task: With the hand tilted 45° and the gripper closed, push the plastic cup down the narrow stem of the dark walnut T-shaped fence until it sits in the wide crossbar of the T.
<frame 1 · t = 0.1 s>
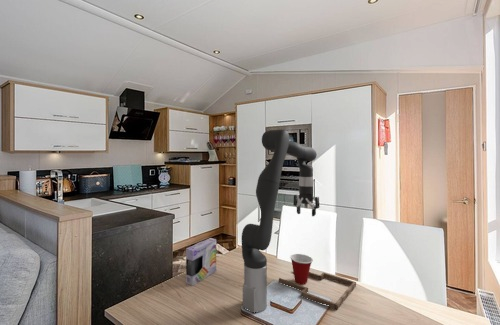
hand: (306, 214, 140), 29 cm above the table, tool pointing down, fingers open, 8 cm apart
cake pan box: (201, 278, 130), on the table
plastic cup: (301, 282, 126), on the table
T fence: (314, 286, 121), on the table
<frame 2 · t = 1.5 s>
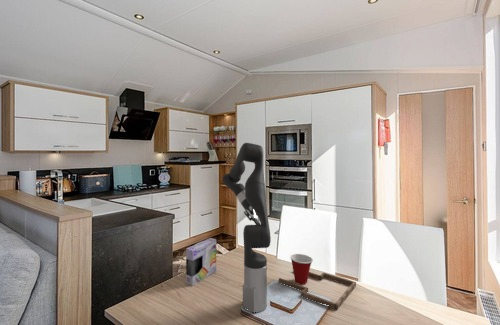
hand: (263, 224, 140), 24 cm above the table, tool tilted 45°, fingers open, 6 cm apart
nothing on the table moved.
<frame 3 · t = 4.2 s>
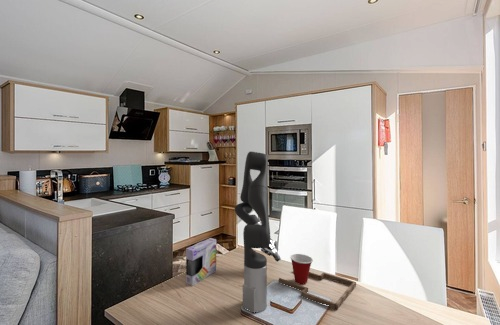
hand: (279, 260, 134), 7 cm above the table, tool tilted 45°, fingers closed
nothing on the table moved.
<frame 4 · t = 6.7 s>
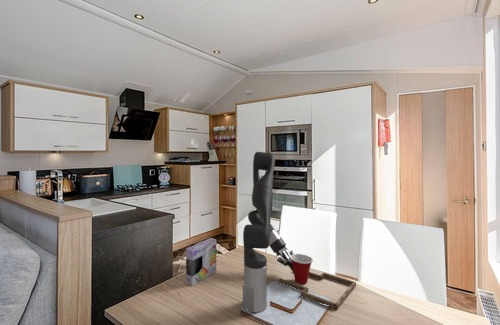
hand: (295, 271, 127), 4 cm above the table, tool tilted 45°, fingers closed
plastic cup: (301, 282, 126), on the table, touching gripper
everything else where it was.
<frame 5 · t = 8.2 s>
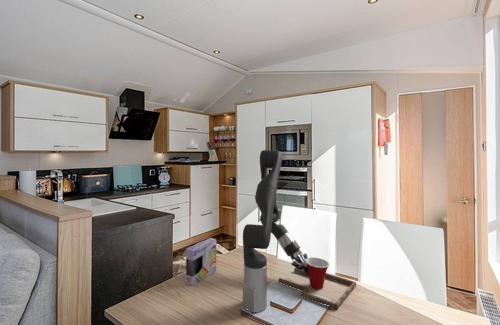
hand: (311, 275, 123), 4 cm above the table, tool tilted 45°, fingers closed
plastic cup: (317, 286, 121), on the table, touching gripper
everything else where it was.
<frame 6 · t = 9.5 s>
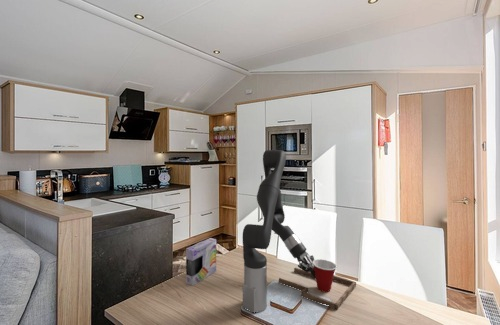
hand: (317, 277, 120), 4 cm above the table, tool tilted 45°, fingers closed
plastic cup: (324, 289, 119), on the table, touching gripper
everything else where it was.
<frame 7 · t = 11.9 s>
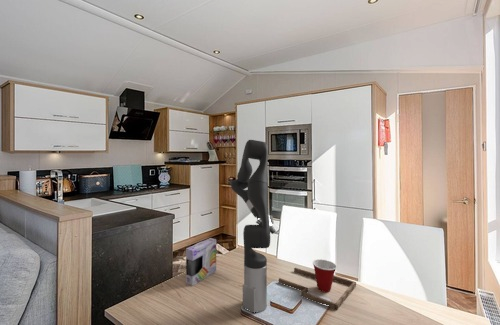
hand: (274, 232, 135), 21 cm above the table, tool tilted 45°, fingers closed
plastic cup: (324, 289, 119), on the table
everything else where it was.
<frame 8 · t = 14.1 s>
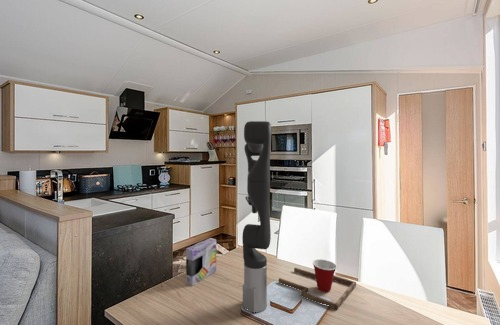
hand: (254, 213, 137), 31 cm above the table, tool pointing down, fingers closed
nothing on the table moved.
at the end: plastic cup inside the target area on the T fence (4.0 cm from its centre), point 0.0 cm above the T fence's base; plastic cup tilted 0°; the gripper is holding nothing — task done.
